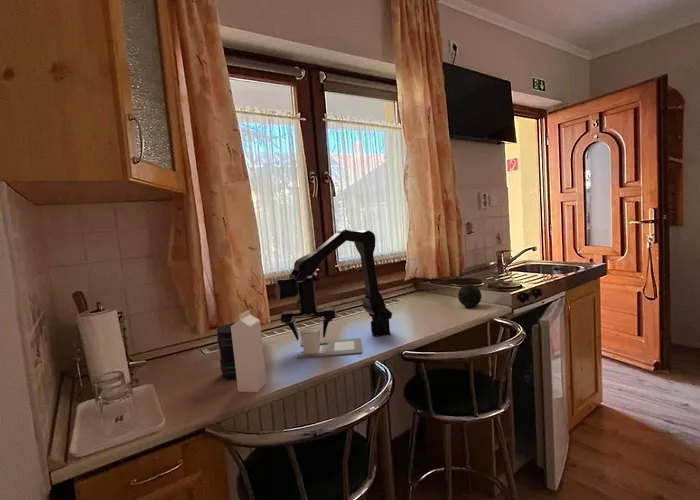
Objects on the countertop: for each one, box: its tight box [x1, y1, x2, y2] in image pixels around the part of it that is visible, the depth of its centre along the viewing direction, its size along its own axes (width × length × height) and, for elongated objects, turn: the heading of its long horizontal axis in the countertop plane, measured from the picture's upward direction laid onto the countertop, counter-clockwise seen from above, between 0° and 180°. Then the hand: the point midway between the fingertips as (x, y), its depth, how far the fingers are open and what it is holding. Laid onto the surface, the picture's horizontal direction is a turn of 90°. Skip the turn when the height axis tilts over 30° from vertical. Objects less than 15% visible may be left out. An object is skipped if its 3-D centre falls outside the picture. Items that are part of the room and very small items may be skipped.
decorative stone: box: [457, 284, 482, 308], centre depth 185 cm, size 10×10×10 cm
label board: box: [296, 337, 363, 360], centre depth 145 cm, size 22×15×1 cm
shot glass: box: [300, 327, 321, 353], centre depth 145 cm, size 7×7×7 cm
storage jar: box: [216, 322, 237, 382], centre depth 128 cm, size 10×10×15 cm
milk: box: [231, 309, 267, 393], centre depth 117 cm, size 6×6×22 cm
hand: (310, 338), depth 145 cm, fingers open, 9 cm apart
